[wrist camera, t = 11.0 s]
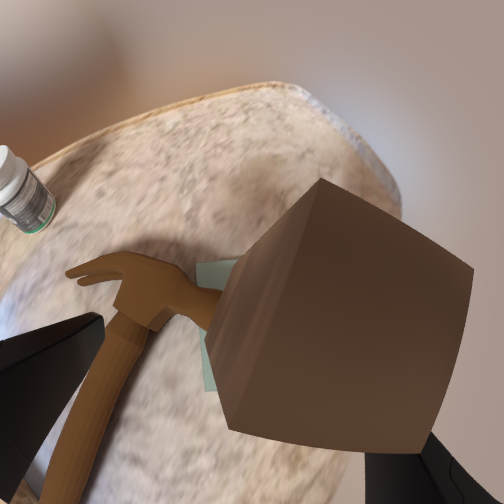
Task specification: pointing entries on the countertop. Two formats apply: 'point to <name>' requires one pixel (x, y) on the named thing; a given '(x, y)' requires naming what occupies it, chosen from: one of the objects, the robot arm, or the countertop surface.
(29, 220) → the pill bottle
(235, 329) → the brown wooden block
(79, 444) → the hammer
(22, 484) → the slotted wooden slab
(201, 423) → the countertop surface
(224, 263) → the rubber mat
